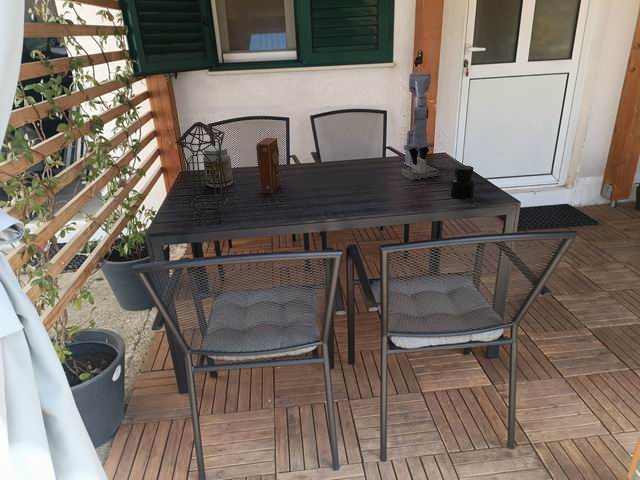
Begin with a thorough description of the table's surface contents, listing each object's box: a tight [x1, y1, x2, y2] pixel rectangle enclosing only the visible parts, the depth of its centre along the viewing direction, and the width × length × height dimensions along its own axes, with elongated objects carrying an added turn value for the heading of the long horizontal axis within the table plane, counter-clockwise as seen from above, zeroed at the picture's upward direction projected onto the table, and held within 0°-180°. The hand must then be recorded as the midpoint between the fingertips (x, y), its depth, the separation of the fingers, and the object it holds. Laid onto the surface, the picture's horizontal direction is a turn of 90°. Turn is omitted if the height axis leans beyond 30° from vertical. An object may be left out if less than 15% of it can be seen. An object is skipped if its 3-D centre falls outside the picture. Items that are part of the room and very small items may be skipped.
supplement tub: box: [202, 145, 234, 189], centre depth 209 cm, size 12×12×17 cm
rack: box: [400, 164, 439, 181], centre depth 214 cm, size 10×14×3 cm
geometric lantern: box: [174, 121, 229, 218], centre depth 170 cm, size 16×16×35 cm
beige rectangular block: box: [411, 157, 427, 172], centre depth 211 cm, size 7×3×5 cm, turn 20°
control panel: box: [255, 137, 281, 194], centre depth 199 cm, size 21×7×15 cm
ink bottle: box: [450, 164, 476, 200], centre depth 183 cm, size 10×9×12 cm
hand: (418, 164), depth 212 cm, fingers closed on beige rectangular block, 3 cm apart
